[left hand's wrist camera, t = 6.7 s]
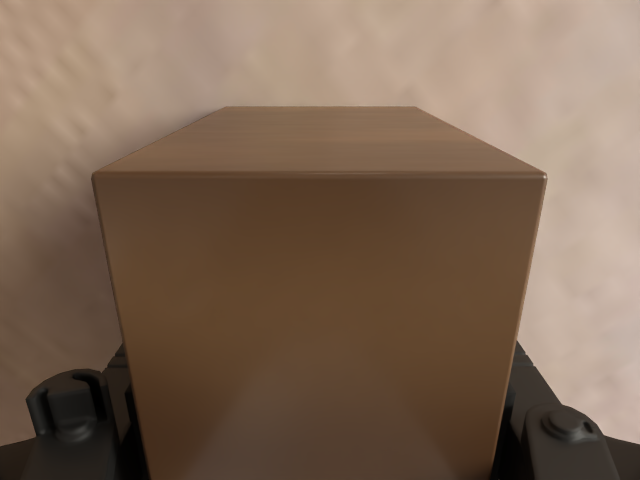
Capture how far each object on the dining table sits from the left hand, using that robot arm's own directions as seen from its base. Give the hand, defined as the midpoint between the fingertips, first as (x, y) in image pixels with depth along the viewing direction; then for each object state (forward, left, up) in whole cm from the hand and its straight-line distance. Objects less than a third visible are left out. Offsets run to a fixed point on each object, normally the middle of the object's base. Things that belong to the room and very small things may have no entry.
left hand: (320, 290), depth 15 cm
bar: (+25, -5, -1) cm, 26 cm away
